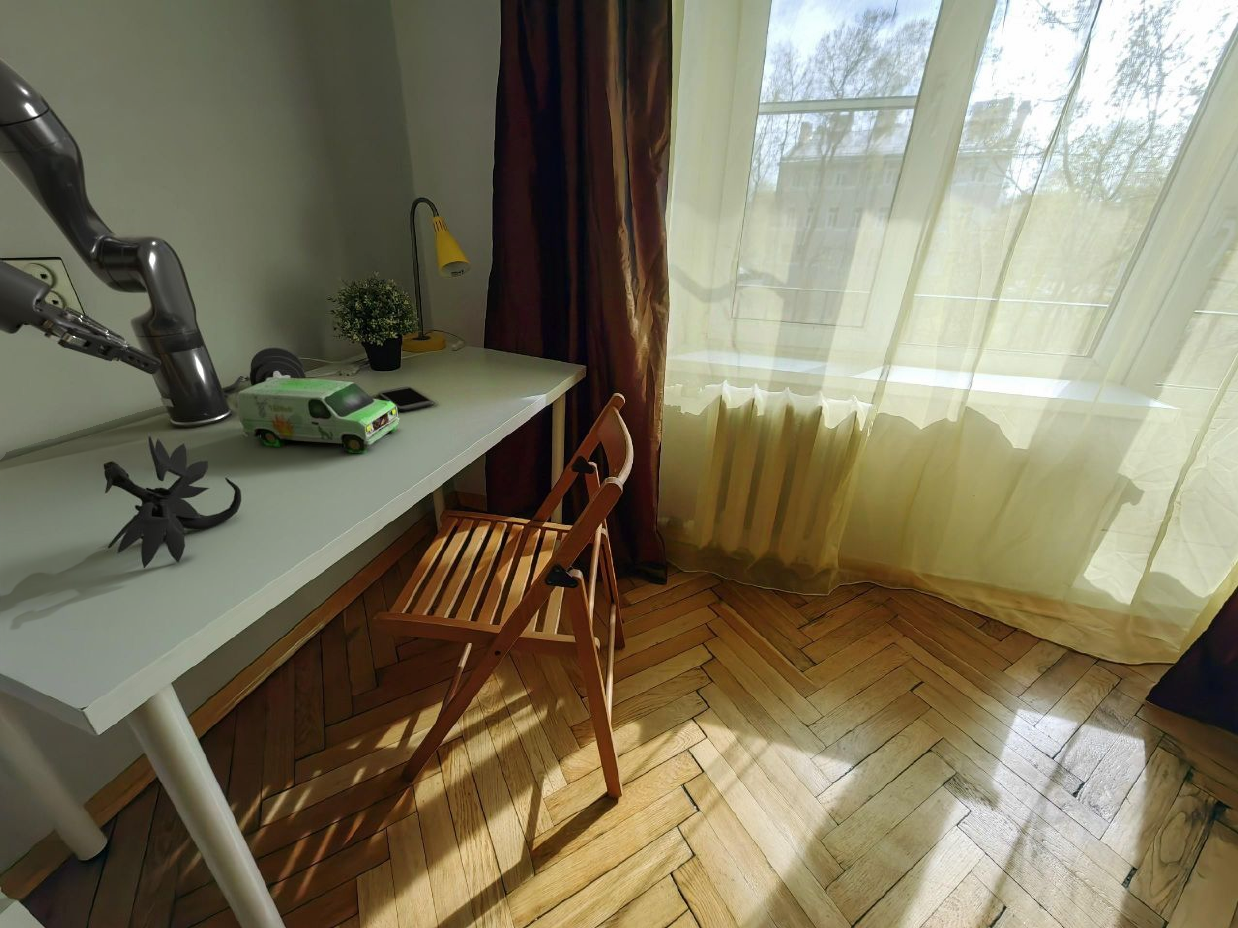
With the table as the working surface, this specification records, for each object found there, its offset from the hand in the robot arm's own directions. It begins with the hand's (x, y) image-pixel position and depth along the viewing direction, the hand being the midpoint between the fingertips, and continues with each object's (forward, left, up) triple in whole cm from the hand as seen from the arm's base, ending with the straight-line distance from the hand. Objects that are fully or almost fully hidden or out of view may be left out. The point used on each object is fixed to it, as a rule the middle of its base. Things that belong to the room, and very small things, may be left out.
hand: (157, 368), depth 70 cm
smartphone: (-14, +36, -17) cm, 43 cm away
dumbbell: (-34, +16, -17) cm, 41 cm away
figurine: (+23, -3, -17) cm, 29 cm away
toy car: (-3, +18, -17) cm, 25 cm away
